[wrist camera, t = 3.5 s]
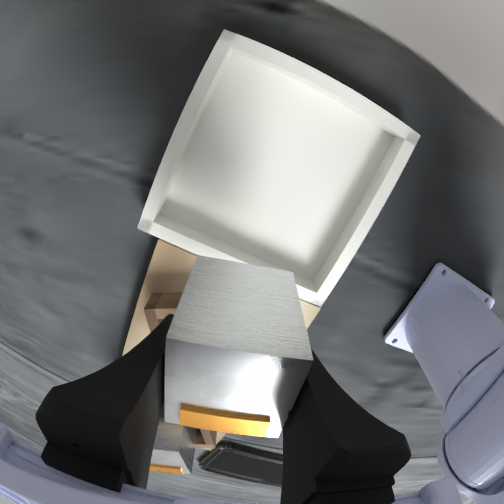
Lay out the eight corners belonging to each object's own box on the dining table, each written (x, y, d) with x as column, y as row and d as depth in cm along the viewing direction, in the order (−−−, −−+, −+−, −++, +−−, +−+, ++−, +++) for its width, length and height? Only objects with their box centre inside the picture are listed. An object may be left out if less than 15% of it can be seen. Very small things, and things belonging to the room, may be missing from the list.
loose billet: (292, 271, 14) (314, 364, 9) (271, 344, 16) (278, 441, 10) (198, 254, 14) (164, 341, 8) (189, 330, 16) (163, 425, 10)
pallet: (318, 301, 22) (326, 325, 20) (211, 443, 30) (209, 465, 28) (162, 234, 20) (149, 251, 18) (110, 407, 28) (102, 427, 26)
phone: (222, 445, 29) (328, 469, 32) (223, 437, 30) (327, 462, 33) (196, 468, 32) (293, 489, 35) (196, 461, 33) (292, 483, 36)
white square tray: (404, 133, 17) (420, 135, 15) (315, 290, 22) (320, 306, 20) (227, 39, 15) (223, 29, 13) (148, 217, 20) (137, 228, 18)
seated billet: (189, 397, 25) (177, 453, 20) (198, 424, 27) (190, 476, 22) (144, 395, 26) (127, 447, 20) (157, 422, 27) (144, 470, 22)
